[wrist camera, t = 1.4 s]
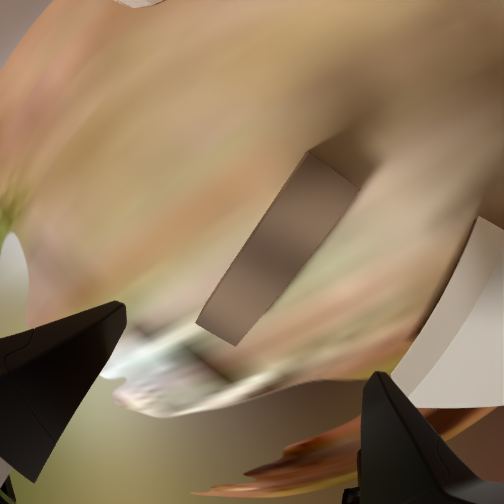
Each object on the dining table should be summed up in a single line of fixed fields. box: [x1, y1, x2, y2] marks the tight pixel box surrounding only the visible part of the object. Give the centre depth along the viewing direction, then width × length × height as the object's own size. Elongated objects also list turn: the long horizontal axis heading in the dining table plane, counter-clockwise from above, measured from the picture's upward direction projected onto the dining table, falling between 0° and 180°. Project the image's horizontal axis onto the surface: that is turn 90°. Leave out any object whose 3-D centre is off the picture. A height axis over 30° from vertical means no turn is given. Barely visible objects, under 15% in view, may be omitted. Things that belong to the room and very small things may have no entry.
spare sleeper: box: [195, 152, 360, 347], centre depth 16 cm, size 12×3×3 cm, turn 148°
